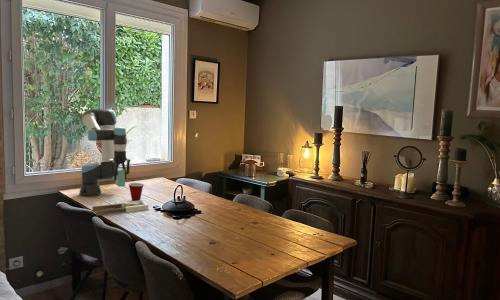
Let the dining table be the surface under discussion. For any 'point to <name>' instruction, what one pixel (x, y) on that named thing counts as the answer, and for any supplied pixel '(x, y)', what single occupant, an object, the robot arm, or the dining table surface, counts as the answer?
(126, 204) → the cube
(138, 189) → the plastic cup
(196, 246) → the dining table surface
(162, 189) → the dining table surface
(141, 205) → the tray
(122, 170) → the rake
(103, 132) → the robot arm
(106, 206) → the channel board
